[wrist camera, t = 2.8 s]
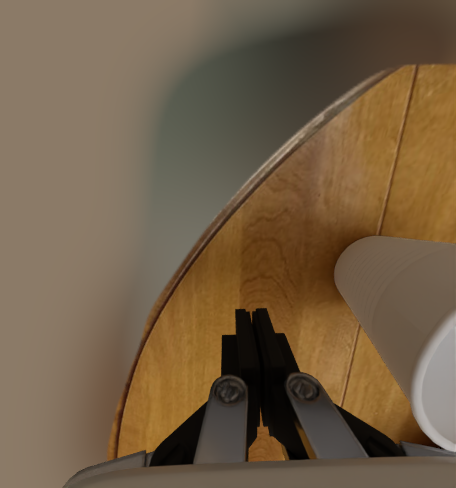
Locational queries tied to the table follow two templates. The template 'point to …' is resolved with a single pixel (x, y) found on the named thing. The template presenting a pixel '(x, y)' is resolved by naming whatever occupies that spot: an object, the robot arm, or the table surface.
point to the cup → (409, 320)
